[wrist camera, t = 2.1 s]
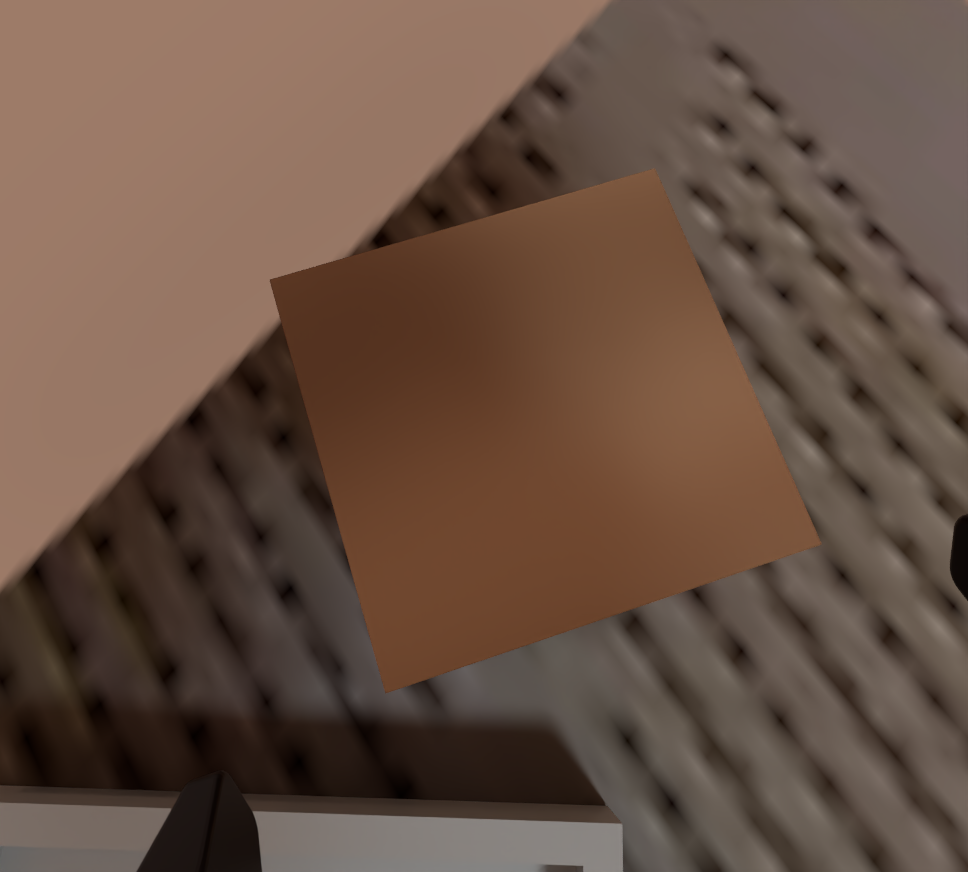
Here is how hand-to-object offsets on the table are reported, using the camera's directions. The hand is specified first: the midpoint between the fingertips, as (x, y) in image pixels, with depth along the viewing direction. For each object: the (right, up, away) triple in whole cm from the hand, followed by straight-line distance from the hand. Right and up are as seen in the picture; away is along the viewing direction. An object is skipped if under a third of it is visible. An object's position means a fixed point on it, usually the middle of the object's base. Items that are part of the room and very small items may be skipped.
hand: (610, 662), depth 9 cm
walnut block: (-1, 0, +10) cm, 11 cm away
